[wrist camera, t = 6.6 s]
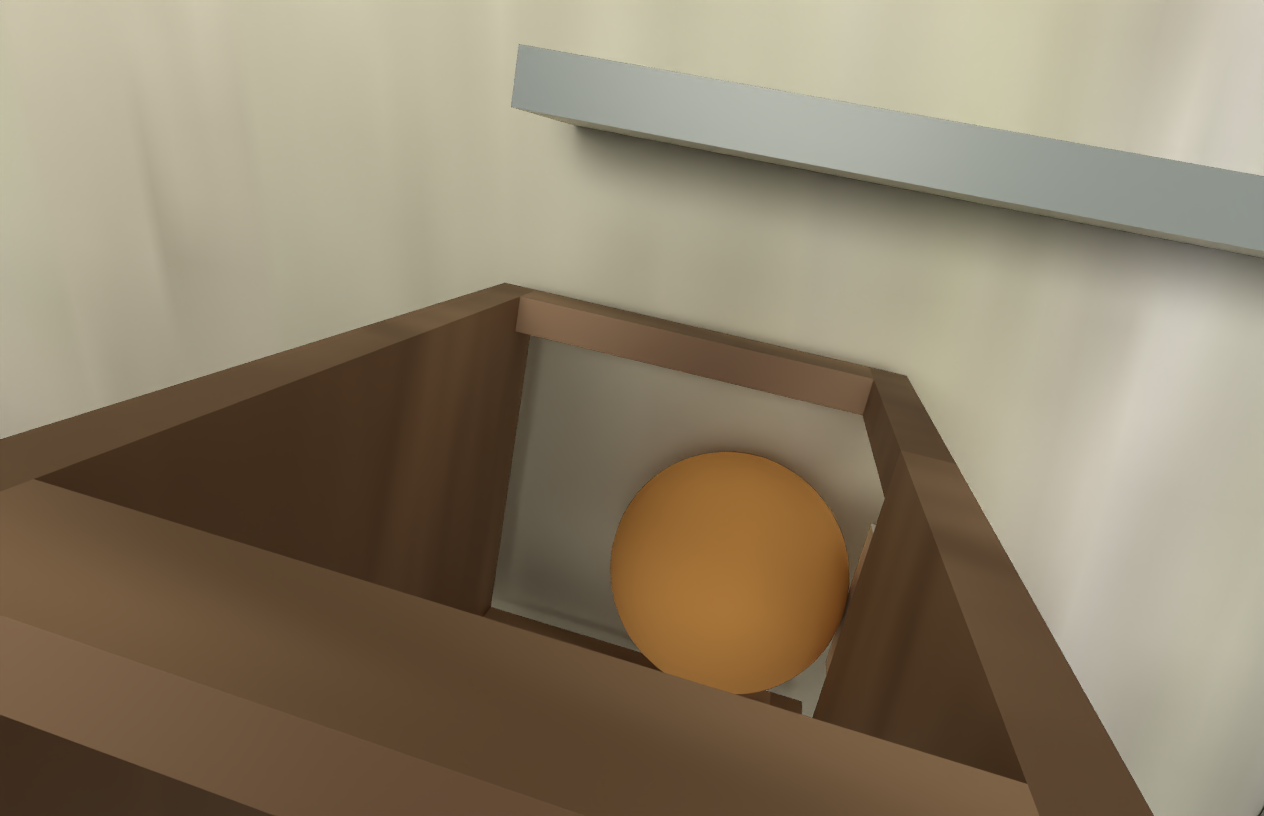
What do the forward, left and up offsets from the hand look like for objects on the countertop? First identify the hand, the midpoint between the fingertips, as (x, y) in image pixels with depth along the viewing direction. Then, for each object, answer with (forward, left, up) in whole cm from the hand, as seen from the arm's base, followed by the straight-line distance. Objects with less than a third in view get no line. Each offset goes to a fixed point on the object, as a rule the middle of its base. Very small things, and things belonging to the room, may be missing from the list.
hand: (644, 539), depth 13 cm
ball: (+1, 0, 0) cm, 2 cm away
